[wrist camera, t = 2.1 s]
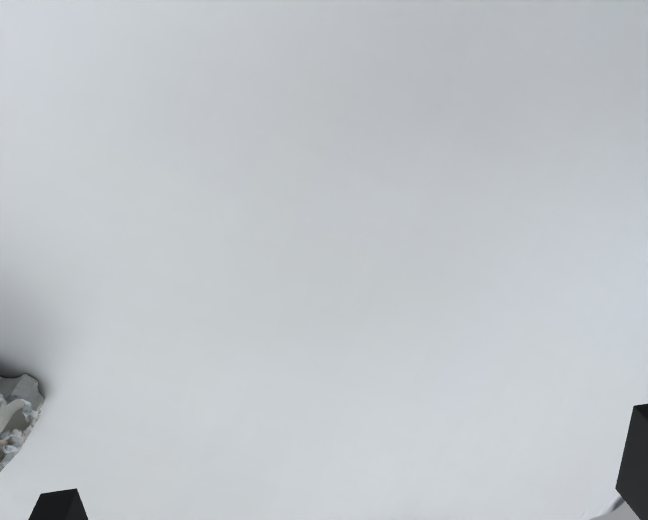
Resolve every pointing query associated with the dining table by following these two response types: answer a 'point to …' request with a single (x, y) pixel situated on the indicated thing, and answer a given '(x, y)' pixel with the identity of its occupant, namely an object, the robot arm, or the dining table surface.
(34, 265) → the dining table surface
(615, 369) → the dining table surface
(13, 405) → the egg carton
